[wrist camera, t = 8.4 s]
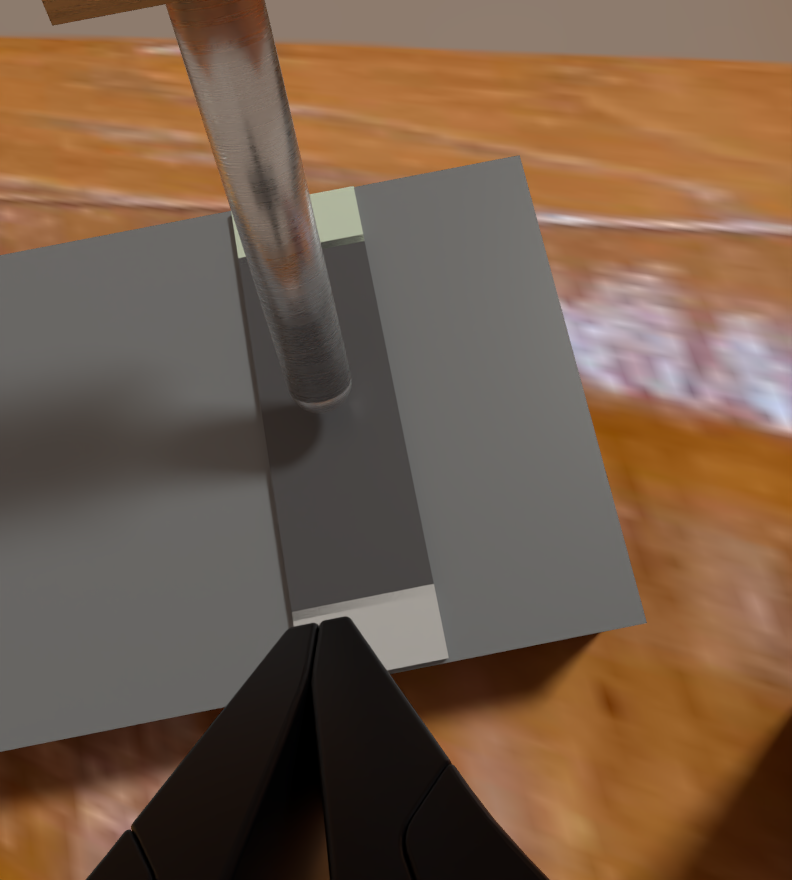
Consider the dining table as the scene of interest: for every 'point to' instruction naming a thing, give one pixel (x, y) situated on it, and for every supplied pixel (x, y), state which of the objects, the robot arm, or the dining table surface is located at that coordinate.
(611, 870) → the dining table surface
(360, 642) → the robot arm
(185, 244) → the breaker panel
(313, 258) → the lever
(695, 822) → the dining table surface
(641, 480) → the dining table surface
